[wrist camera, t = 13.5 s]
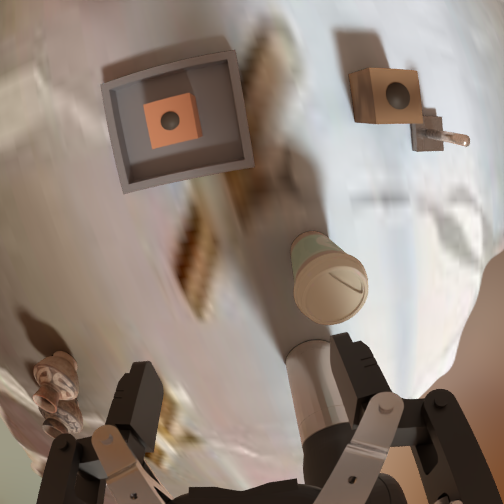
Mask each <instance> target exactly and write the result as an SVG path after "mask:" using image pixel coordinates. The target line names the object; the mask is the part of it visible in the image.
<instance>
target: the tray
mask: <svg viewBox="0 0 504 504" xmlns="http://www.w3.org/2000/svg"><path fill="white" fill-rule="evenodd" d="M101 91H102V97H103V103H104V109H105V114H106V120H107V125H108V130H109V135H110V140H111V144H112V149H113V154H114V158H115V162H116V167H117V171H118V175H119V179H120V183H121V187H122V191H123V194H126V193H130V192H134V191H138V190H142V189H147V188H151V187H155V186H159V185H164V184H168V183H173V182H177V181H182V180H187V179H192V178H197V177H202V176H207V175H212V174H217V173H223V172H228V171H234V170H240V169H246V168H252V167H255V164H254V158H253V152H252V146H251V139H250V133H249V127H248V121H247V115H246V109H245V104H244V98H243V92H242V86H241V80H240V75H239V69H238V63H237V58H236V52H235V50H231V51H224V52H219V53H213V54H208V55H203V56H198V57H193V58H188V59H184V60H180V61H176V62H172V63H168V64H164V65H160V66H156V67H153V68H149V69H146V70H142V71H139V72H136V73H133V74H130V75H127V76H124V77H121V78H118V79H115V80H112V81H109V82H106V83H104V84H101ZM186 93H191V94H192V95H194V96H195V98H196V103H197V108H198V113H199V119H200V124H201V129H202V134H203V136H202V137H200V138H197V139H192V140H188V141H184V142H179V143H175V144H171V145H167V146H163V147H159V148H155V149H152V146H151V141H150V136H149V132H148V127H147V122H146V117H145V112H144V107H143V105H144V104H148V103H151V102H155V101H158V100H162V99H166V98H169V97H173V96H177V95H181V94H186Z"/></svg>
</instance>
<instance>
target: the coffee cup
mask: <svg viewBox="0 0 504 504" xmlns="http://www.w3.org/2000/svg"><path fill="white" fill-rule="evenodd" d="M290 255H291V263H292V270H293V277H294V290H293V294H294V300H295V303H296V305H297V306H298V308H299V309H300V311H301V312H302V313H303V314H304V315H305V316H307V317H308V318H309V319H311V320H312V321H314V322H316V323H318V324H323V325H334V324H338V323H342V322H344V321H346V320H348V319H350V318H351V317H353V316H354V315H355V314H356V313H357V312H358V311H359V310H360V309H361V308H362V306H363V305H364V303H365V301H366V299H367V295H368V278H367V274H366V271H365V269H364V267H363V265H362V264H361V262H360V261H359V260H358V259H356V258H355V257H353V256H351V255H349V254H347V253H345V252H344V251H343V250H342V249H341V248H340V247H338V246H337V245H336V244H335V243H334V242H332V241H331V240H330V239H329V238H328V237H326V236H325V235H324V234H322V233H320V232H317V231H308V232H305V233H302V234H301V235H299V236H298V237H297V238H296V239H295V240H294V242H293V243H292V246H291V249H290Z"/></svg>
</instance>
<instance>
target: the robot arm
mask: <svg viewBox="0 0 504 504" xmlns="http://www.w3.org/2000/svg"><path fill="white" fill-rule="evenodd" d="M286 368H287V373H288V378H289V383H290V388H291V393H292V398H293V403H294V408H295V413H296V418H297V423H298V428H299V432H300V437H301V443H302V448H303V453H304V461H303V474H304V481H305V484H298V483H297V478H296V479H290V480H284V481H277V482H269V483H267V484H264V485H261V486H258V487H255V488H251V489H248V490H245V491H236V490H229V489H223V488H218V487H189V493H187V494H184V495H181V496H179V497H176V498H174V497H173V496H172V495H171V494H170V493H169V492H168V491H167V490H166V489H165V487H164V486H163V485H162V483H161V482H160V481H159V479H158V478H157V476H156V475H155V473H154V472H153V471H152V469H151V468H150V466H149V465H148V463H147V462H146V460H145V459H144V454H145V452H154V446H155V440H156V434H157V428H158V422H159V416H160V411H161V405H162V400H163V385H162V383H161V381H160V379H159V377H158V375H157V373H156V371H155V369H154V367H153V365H152V363H151V362H150V361H143V362H134V363H133V364H132V367H131V370H130V373H125V374H124V376H123V377H122V378H121V379H120V381H119V382H118V385H117V388H116V392H115V394H114V399H113V401H112V404H111V407H110V410H109V413H108V417H107V420H106V423H105V425H103V426H101V427H99V428H98V429H96V430H95V431H94V433H93V435H92V436H91V437H87V438H82V439H77V440H76V439H75V438H74V437H73V436H72V435H71V434H68V433H64V434H60V435H59V436H57V437H56V438H55V439H54V441H53V443H52V446H51V449H50V452H49V456H48V459H47V463H46V466H45V470H44V474H43V478H42V482H41V486H40V490H39V494H38V499H37V503H36V504H103V502H104V494H105V487H106V484H107V486H108V487H109V489H110V491H111V493H112V495H113V497H114V499H115V500H116V502H117V504H407V501H406V498H405V495H404V493H403V490H402V488H401V487H400V485H399V483H398V482H397V481H396V480H395V479H394V478H392V477H391V476H390V475H388V474H384V473H380V471H381V469H382V466H383V464H384V461H385V459H386V457H387V454H388V451H389V448H390V447H396V446H398V447H399V446H410V447H411V450H412V453H413V455H414V458H415V461H416V464H417V467H418V470H419V474H420V477H421V480H422V483H423V486H424V489H425V493H426V496H427V499H428V503H429V504H503V503H502V500H501V497H500V494H499V492H498V489H497V486H496V484H495V481H494V479H493V476H492V474H491V472H490V469H489V467H488V465H487V463H486V460H485V458H484V455H483V453H482V451H481V449H480V446H479V444H478V442H477V440H476V438H475V436H474V434H473V431H472V429H471V427H470V425H469V423H468V421H467V419H466V417H465V415H464V414H463V411H462V409H461V408H460V406H459V404H458V402H457V400H456V398H455V397H454V395H453V394H452V393H451V392H449V391H448V390H445V389H436V390H433V391H431V392H429V394H427V396H426V397H425V398H424V399H403V398H401V397H400V396H398V395H397V394H395V393H393V392H392V391H391V389H390V387H389V385H388V383H387V381H386V379H385V377H384V375H383V373H382V371H381V369H380V367H379V366H378V365H377V362H376V360H375V358H374V356H373V354H372V352H371V350H370V348H369V347H368V346H367V345H365V344H364V343H363V342H362V341H357V342H352V340H351V338H350V336H349V334H348V332H345V333H340V334H336V335H331V336H330V343H329V342H327V341H323V340H312V341H308V342H304V343H302V344H300V345H298V346H297V347H295V348H294V349H293V350H292V351H291V352H290V353H289V354H288V356H287V358H286ZM76 478H77V479H76ZM75 483H76V484H75Z"/></svg>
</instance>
